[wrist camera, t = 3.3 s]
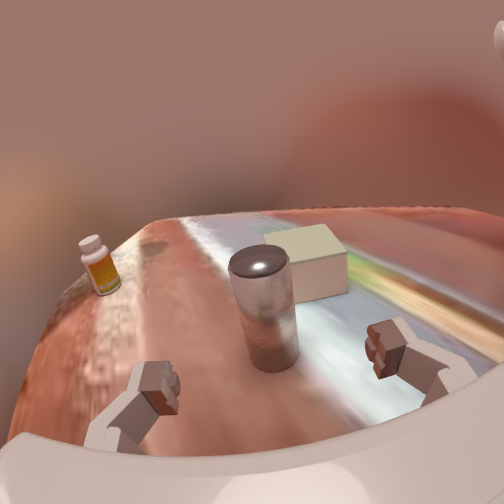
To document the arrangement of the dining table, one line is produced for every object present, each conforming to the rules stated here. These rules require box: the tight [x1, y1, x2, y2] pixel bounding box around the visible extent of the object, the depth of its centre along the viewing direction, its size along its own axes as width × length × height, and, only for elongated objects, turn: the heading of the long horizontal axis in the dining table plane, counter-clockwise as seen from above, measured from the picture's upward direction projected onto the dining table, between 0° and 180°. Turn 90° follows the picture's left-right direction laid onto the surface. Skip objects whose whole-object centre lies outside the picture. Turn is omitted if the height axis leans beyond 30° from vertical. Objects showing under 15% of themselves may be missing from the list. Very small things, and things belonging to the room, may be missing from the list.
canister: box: [228, 244, 299, 373], centre depth 25 cm, size 5×5×12 cm
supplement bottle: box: [79, 235, 121, 296], centre depth 44 cm, size 5×5×10 cm
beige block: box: [263, 224, 347, 304], centre depth 37 cm, size 9×9×6 cm
